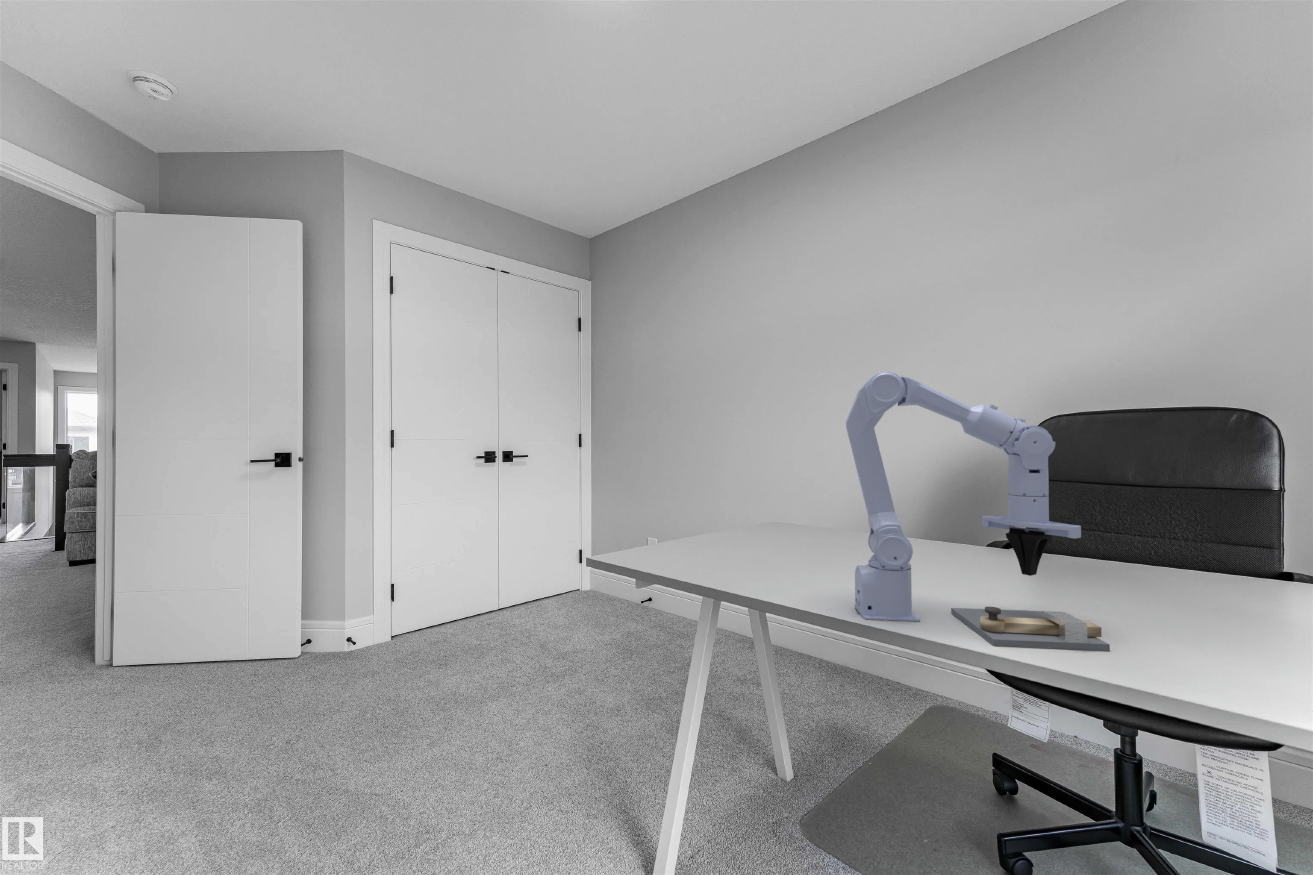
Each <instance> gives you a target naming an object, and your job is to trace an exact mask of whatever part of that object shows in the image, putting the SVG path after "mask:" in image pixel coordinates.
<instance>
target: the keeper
mask: <svg viewBox="0 0 1313 875" xmlns="http://www.w3.org/2000/svg"><path fill="white" fill-rule="evenodd" d="M1043 611H1044V616H1045V617H1046V618H1048V619H1050V620H1052V621H1054V622H1055V623H1057V624H1059V639H1060V640H1062V641H1064V642H1067V643H1087V623H1086V622H1084V621H1085V620H1082V619H1080V618H1078V617H1075V616H1074V615H1071V614H1070V613H1067V612H1065V611H1053V610H1052V611H1051V610H1049V611H1048V610H1043Z"/></svg>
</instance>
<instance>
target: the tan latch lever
mask: <svg viewBox="0 0 1313 875" xmlns="http://www.w3.org/2000/svg"><path fill="white" fill-rule="evenodd" d="M984 609H985V612H986V613H989V616H981V617H980V627H981V628H982V629H984V630H987V631H991V632H999V633H1001V632H1011V633H1030V634H1049V635H1059V624H1057V623H1055V622H1054V621H1052V620H1050V619H1036V618H1015V617H997V615H998V614H1001V610H1002V609H1001V608H999V607H996V606H985V607H984ZM1083 621H1084V622H1086V623H1087V636H1088V637H1097V638H1102V626H1099V625H1097V624H1096V623H1094V622H1092V621H1090V620H1083Z"/></svg>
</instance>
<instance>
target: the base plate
mask: <svg viewBox="0 0 1313 875" xmlns="http://www.w3.org/2000/svg"><path fill="white" fill-rule="evenodd" d="M1044 611H1045V610H1026V609H1024V610H1023V609H1022V610H1020V609H1019V610H1017V609H1001V614H998V615H997V617H1015V618H1036V619H1048V618H1046V617H1045V616H1044ZM950 614H951V615H952V616H954V617H955V618H956V619H957V620H959V621H961V622H962V623H963V624H964V625H966V626H967V627H968V628H969V629H971V630H972V631H973V632H975V633H976V634H977V635H978V636H980V637H981V638H983V640H985V641H987V642H988V643H989V644H991V645H992V646H993V647H1009V648H1028V649H1029V648H1033V649H1036V648H1037V649H1054V650H1055V649H1058V650H1073V651H1074V650H1076V651H1077V650H1079V651H1095V652H1096V651H1100V652H1101V651H1102V652H1110V651H1111V650H1110V649H1111V648H1110V646H1111V644H1110V643H1108V642H1106V641H1104V640H1102V639H1101V638H1100V637H1088V636H1087V643H1067V642H1064V641H1062V640H1060V639H1059V635H1049V634H1030V633H1011V632H1001V633H999V632H991V631H987V630H984V629H982V628H981V627H980V617H981V616H989V613H986V612H985V608H967V607H966V608H965V607H951V608H950Z"/></svg>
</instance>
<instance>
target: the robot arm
mask: <svg viewBox="0 0 1313 875" xmlns="http://www.w3.org/2000/svg"><path fill="white" fill-rule="evenodd" d="M896 405H897V407H905V406H906V407H907V406H919V407H921V408H923V409H926V410H928V411H931V412H933V413H936V414H938V415H941V416H943V417H944V418H945V417H946V418H948V419H950V420H953V421H955V422H957V423H960V424H961V427H962V429H963V432H964V433H965V434H967V435H969V436H971V437H973V438H976V439H978V440H980V441H982V442H985V443H986V444H989V445H991V446H993V447H995V448H998V449H1000V450H1001V449H1002V450H1003V452H1004V453H1005V454H1006V455H1007V456H1008V469H1007V471H1008V472H1007V477H1008V478H1007V479H1008V480H1007V484H1008V486H1007V487H1008V493H1007V494H1008V496H1007V497H1008V516H1007V517H1006V516H994V515H983V516H982V517H981V518H982V522H981V523H982V527H983V528H994V529H1004V530H1009V531H1008V532H1006V533H1005V538H1006V539H1007V541H1008V542H1009V544H1010V546H1011V548H1012V549H1013V551H1014V553H1015V555H1016V558H1017V561H1018V564H1019V567H1020V572H1021V575H1025V576H1030V577H1032V576H1035V575H1037V573H1038V567H1039V564H1040V562H1041V558H1042V556H1043V554H1044V552H1045V550H1046V549H1047V547H1048V545H1049V544H1050V542H1051V541H1052V539H1053V536H1059V537H1064V538H1065V537H1066V538H1069V539H1080V538H1082V526H1081V525H1078V524H1076V525H1075V524H1069V523H1062V522H1056V521H1050V507H1049V504H1050V502H1049V501H1050V499H1049V494H1050V493H1049V492H1050V489H1049V488H1050V486H1049V485H1050V483H1049V479H1050V478H1049V456H1050V455H1052V453H1053V451H1054V450H1055V448H1056V441H1053V436H1052V435H1051V434H1050V433H1049V431H1048V430H1047V429H1045V428H1044V427H1042V426H1039V425H1026V419H1025V418H1022V417H1017V418H1015V417H1013V416H1011V415H1008V414H1006V413H1003V412H1002V411H999V410H998V409H999V406H998V405H995V404H992V403H991V404H987V405H985V404H983V403H982V404H977V405H975V406H974V405H973V406H969V405H967V404H965V403H963V402H961V401H959V400H957V399H955V398H953V397H951V396H949V395H946V394H945V393H942V392H941V391H938V390H936V389H935V388H932V387H930V386H929V385H926V384H924V383H922V382H920V381H918V380H915V379H913V378H911V377H907V376H903V375H901V376H900V375H899V374H898V373H896V372H893V371H888V370H886V371H885V370H884V371H880V372H877V373H875V374H874V375H873V376H871V378H870V379H869V380H868V381H866V382H865V383H864V385H862V387H860V389H859V390H858V391H857V393H856V394H855V398H854V401H853V403H852V406H851V408H850V411H849V412H848V415H847V417H846V421H845V427H846V432H847V436H848V440H849V444H850V448H851V452H852V455H853V459H854V460H853V461H854V464H855V467H856V468H855V469H856V473H857V475H858V476H857V477H858V479H859V480H858V481H859V485H860V488H861V492H862V496H863V500H864V504H865V509H866V511H867V512H866V513H867V518H868V519H867V520H868V526H869V535H868V541H867V542H868V547H869V549H870V551H871V552H872V553H873V555H872V556H871V557H870V559H868V563H867V564H864V565H858V564H857V566H855V572H854V597H855V598H854V601H855V603H854V608H855V610H857V612H858V613H859V615H860V616H861V617H862V618H863V619H864V620H870V621H871V620H874V621H896V622H897V621H898V622H899V621H901V622H920V621H921V618H920V617H919V616H918V615H917V614H915V612H914V611H913V603H912V602H913V601H912V600H913V598H912V590H913V589H912V587H913V585H912V564H911V563H910V561H911V559H912V558H913V553H914V552H913V551H914V550H913V546H912V544H911V541H910V540H909V539H908V538H907V537H906V536H905V534H904V533H903V530H902V527H901V522H900V521H899V519H898V516H897V513H896V509H895V506H894V502H893V498H892V494H891V490H890V487H889V481H888V478H887V474H886V471H885V470H886V469H885V467H884V462H883V458H882V455H881V451H880V447H879V442H878V438H877V434H876V431H875V427H876V426H877V424H879V422H880V421H881V419H882V417H884V415H885V413H886V412H888V411H889V410H890V409H892V408H893V407H894V406H896Z"/></svg>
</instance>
